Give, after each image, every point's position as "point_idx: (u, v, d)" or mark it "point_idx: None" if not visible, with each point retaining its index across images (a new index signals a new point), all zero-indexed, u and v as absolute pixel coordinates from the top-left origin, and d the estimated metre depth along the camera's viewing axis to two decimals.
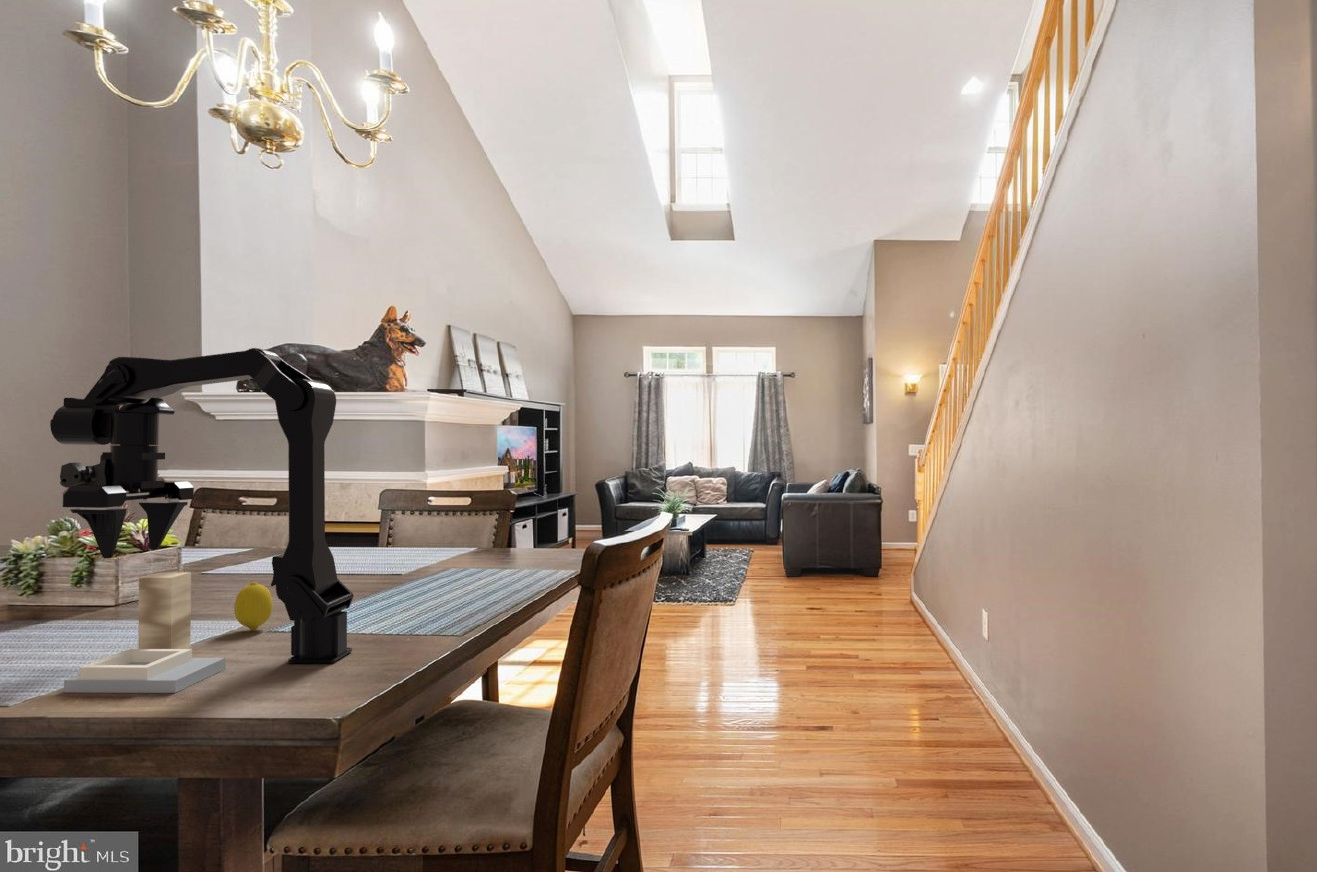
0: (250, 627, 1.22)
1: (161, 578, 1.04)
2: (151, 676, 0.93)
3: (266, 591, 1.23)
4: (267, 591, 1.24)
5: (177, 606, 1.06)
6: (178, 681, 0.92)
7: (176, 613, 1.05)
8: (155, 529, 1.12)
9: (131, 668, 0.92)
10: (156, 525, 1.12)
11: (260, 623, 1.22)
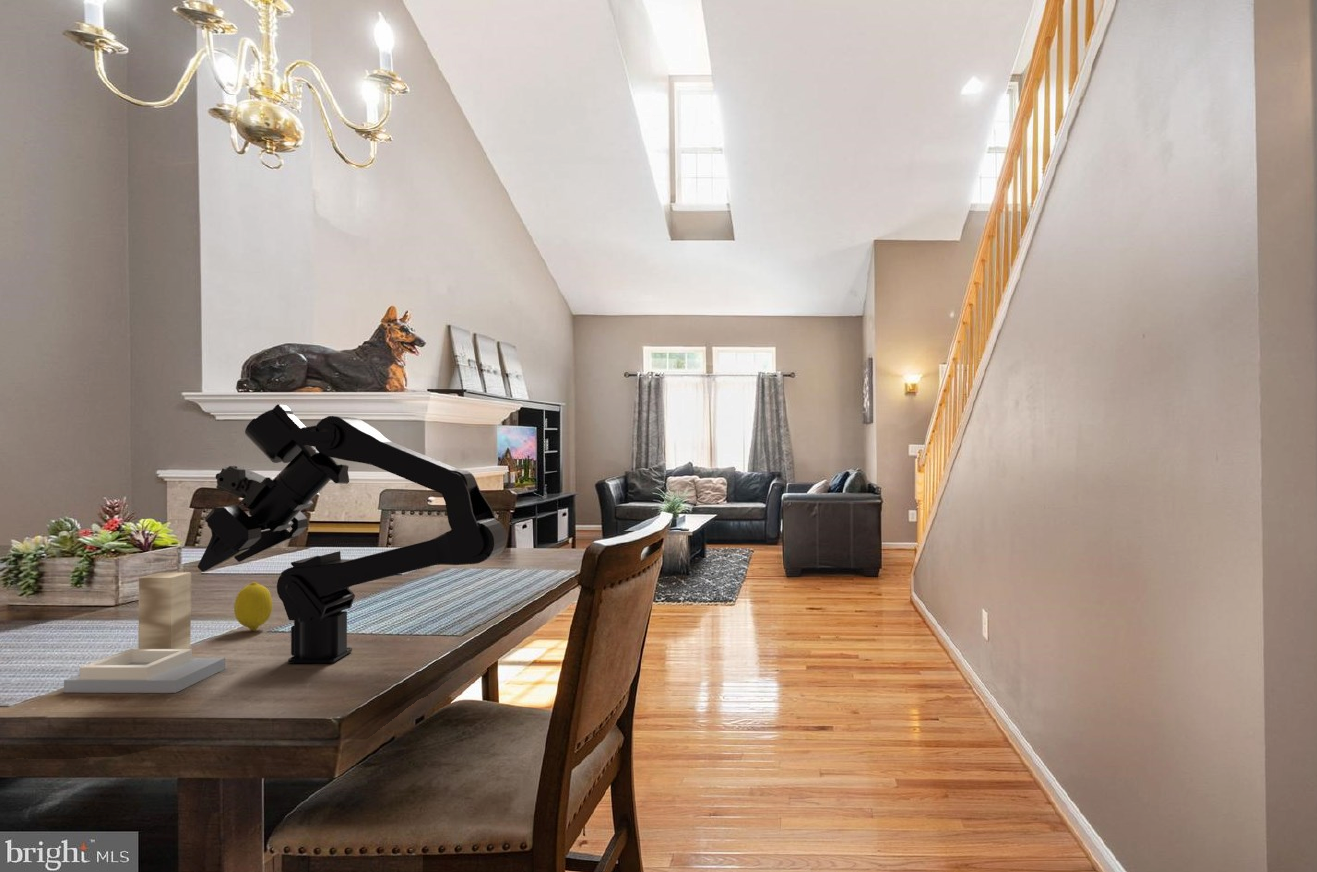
0: (250, 627, 1.22)
1: (161, 578, 1.04)
2: (151, 676, 0.93)
3: (266, 591, 1.23)
4: (267, 591, 1.24)
5: (177, 606, 1.06)
6: (178, 681, 0.92)
7: (176, 613, 1.05)
8: (251, 545, 1.11)
9: (131, 668, 0.92)
10: (255, 543, 1.11)
11: (260, 623, 1.22)
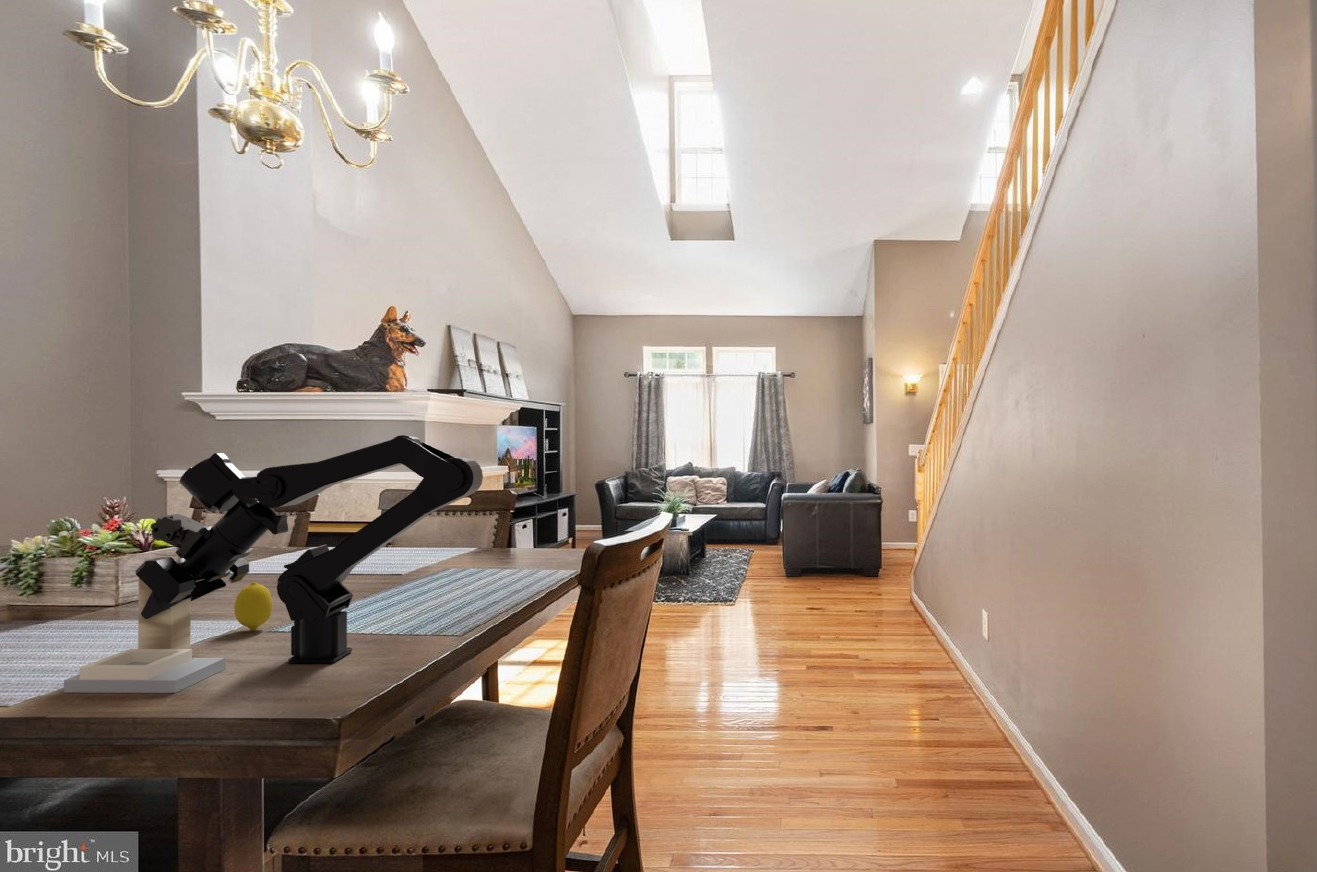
0: (250, 627, 1.22)
1: None
2: (151, 676, 0.93)
3: (266, 591, 1.23)
4: (267, 591, 1.24)
5: (177, 606, 1.06)
6: (178, 681, 0.92)
7: (176, 613, 1.05)
8: None
9: (131, 668, 0.92)
10: None
11: (260, 623, 1.22)
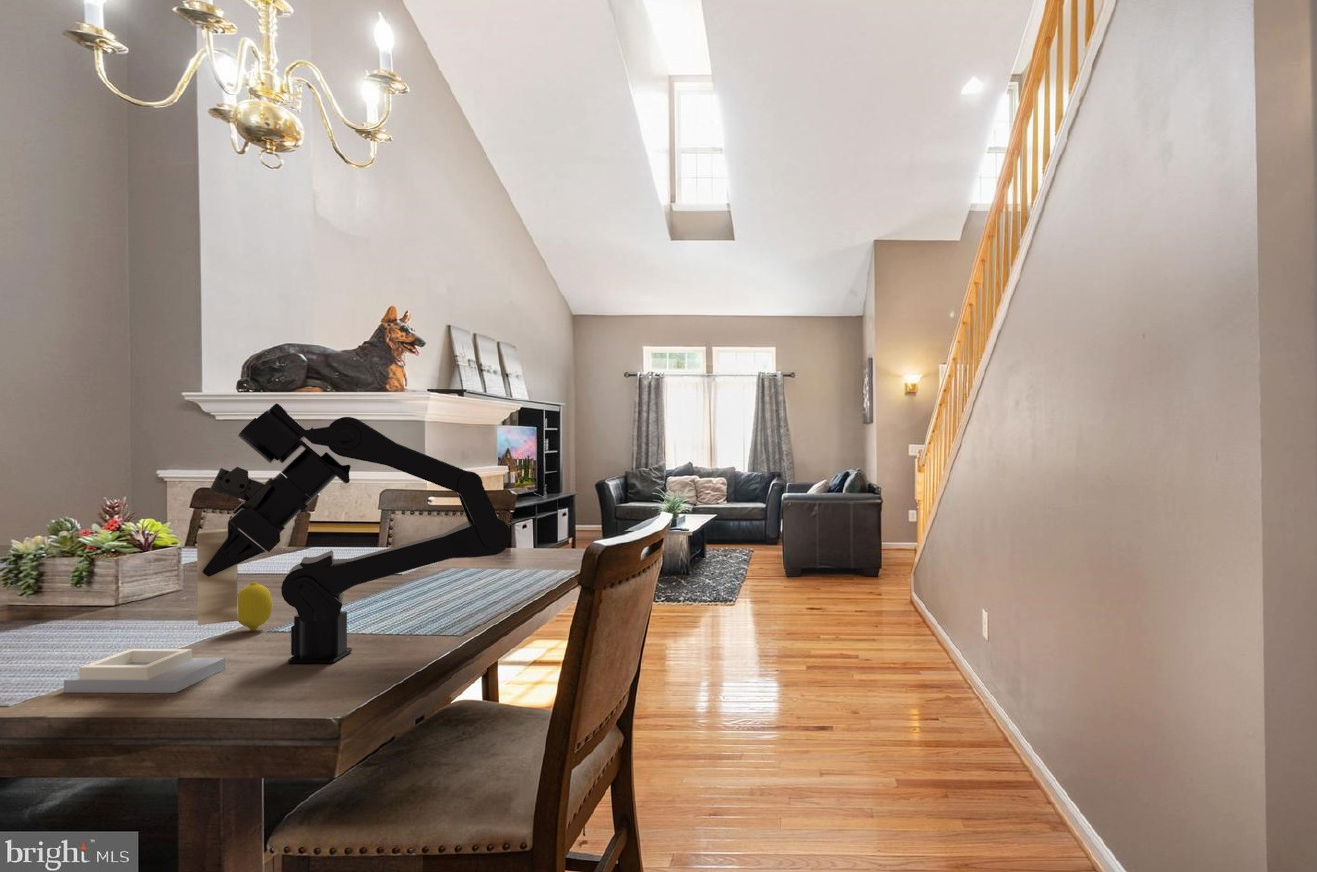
0: (250, 627, 1.22)
1: (224, 532, 0.99)
2: (151, 676, 0.93)
3: (266, 591, 1.23)
4: (267, 591, 1.24)
5: None
6: (178, 681, 0.92)
7: None
8: None
9: (131, 668, 0.92)
10: None
11: (260, 623, 1.22)
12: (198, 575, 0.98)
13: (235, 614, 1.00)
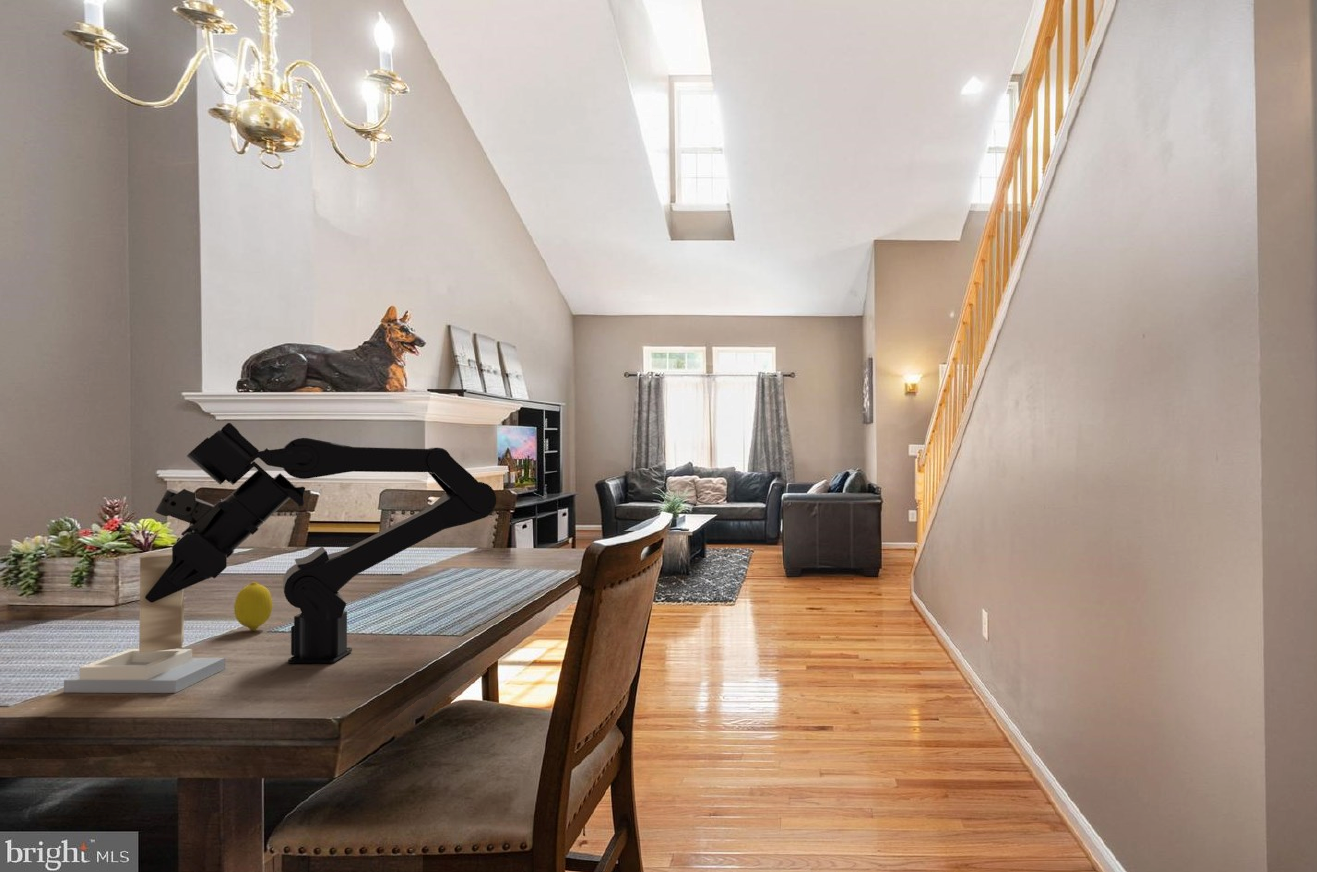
0: (250, 627, 1.22)
1: (169, 556, 0.96)
2: (151, 676, 0.93)
3: (266, 591, 1.23)
4: (267, 591, 1.24)
5: None
6: (178, 681, 0.92)
7: (182, 594, 0.98)
8: None
9: (131, 668, 0.92)
10: None
11: (260, 623, 1.22)
12: (140, 601, 0.95)
13: (179, 641, 0.97)
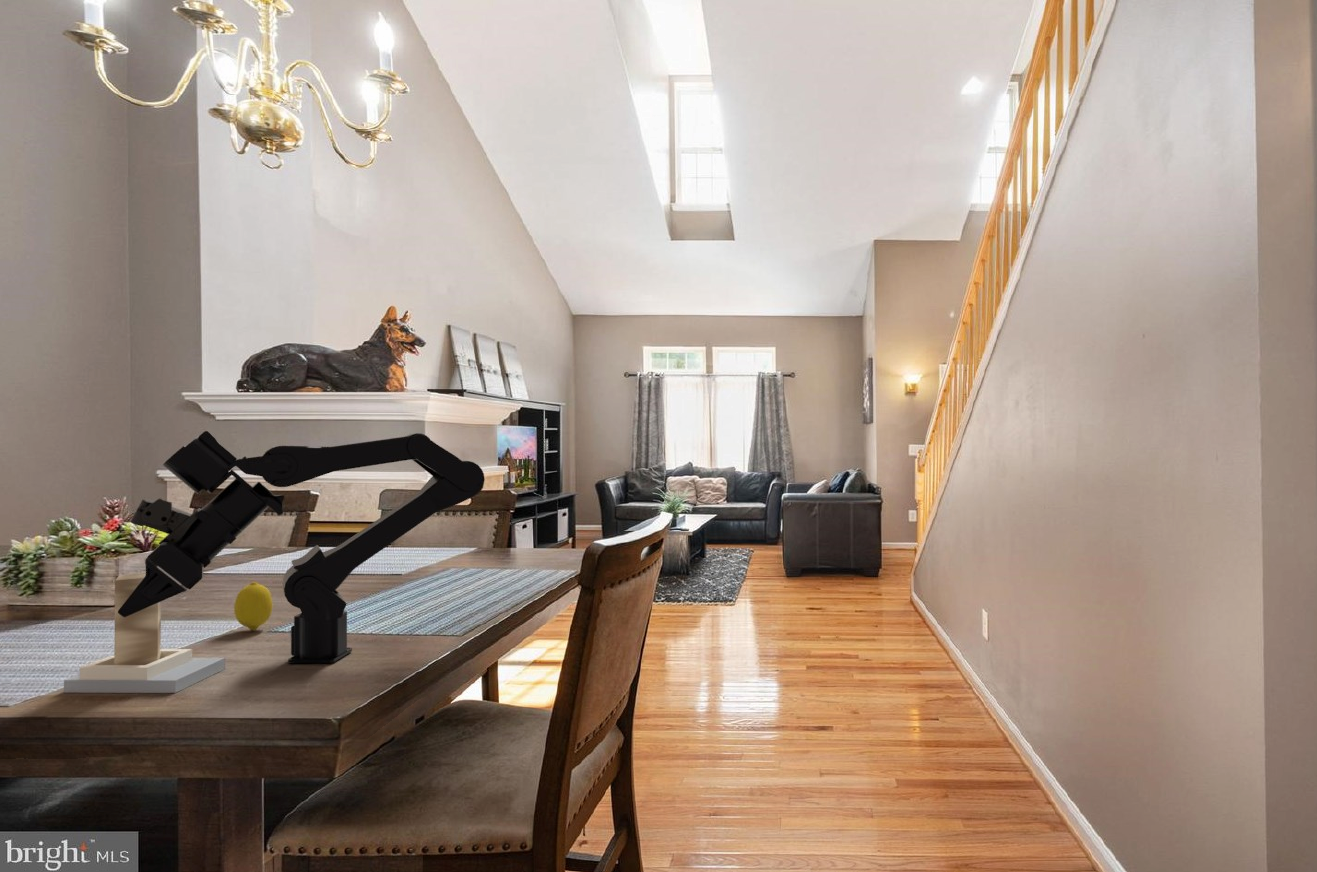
0: (250, 627, 1.22)
1: None
2: (151, 676, 0.93)
3: (266, 591, 1.23)
4: (267, 591, 1.24)
5: (158, 609, 0.97)
6: (178, 681, 0.92)
7: (158, 616, 0.96)
8: None
9: (131, 668, 0.92)
10: None
11: (260, 623, 1.22)
12: (115, 624, 0.93)
13: None
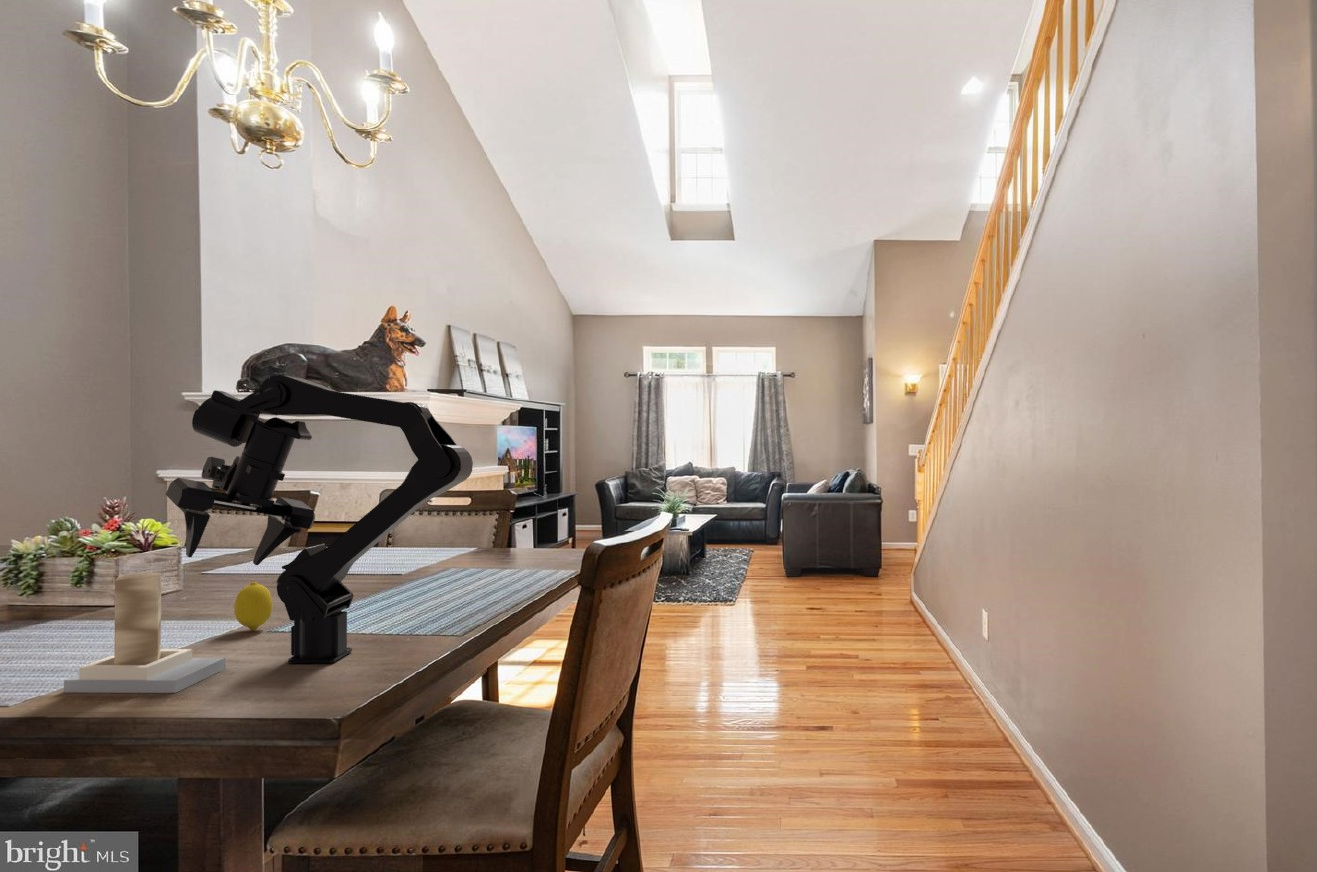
0: (250, 627, 1.22)
1: (144, 579, 0.95)
2: (151, 676, 0.93)
3: (266, 591, 1.23)
4: (267, 591, 1.24)
5: (158, 609, 0.97)
6: (178, 681, 0.92)
7: (158, 616, 0.96)
8: (263, 545, 1.10)
9: (131, 668, 0.92)
10: (265, 541, 1.10)
11: (260, 623, 1.22)
12: (115, 624, 0.93)
13: None
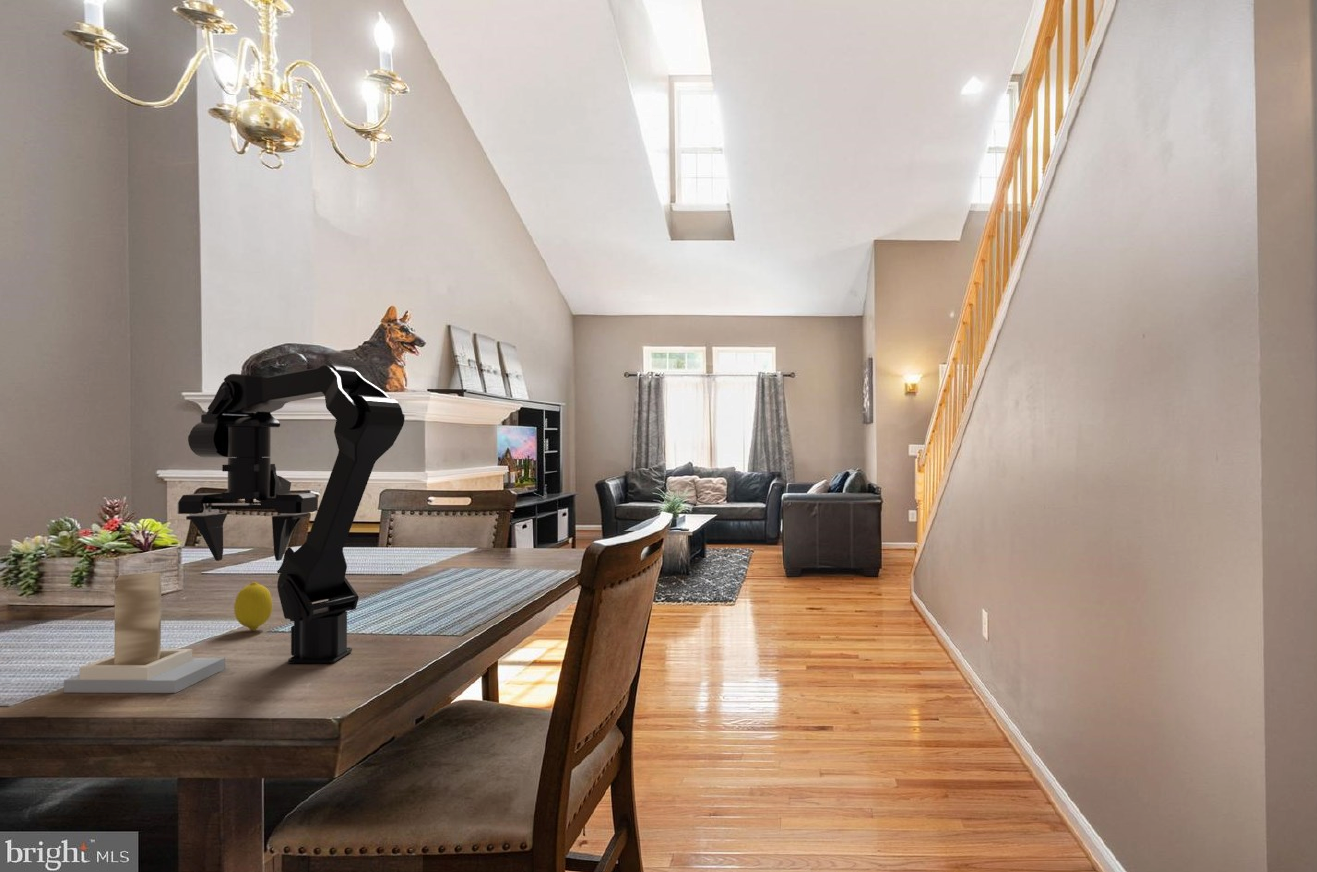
0: (250, 627, 1.22)
1: (144, 579, 0.95)
2: (151, 676, 0.93)
3: (266, 591, 1.23)
4: (267, 591, 1.24)
5: (158, 609, 0.97)
6: (178, 681, 0.92)
7: (158, 616, 0.96)
8: None
9: (131, 668, 0.92)
10: None
11: (260, 623, 1.22)
12: (115, 624, 0.93)
13: None
